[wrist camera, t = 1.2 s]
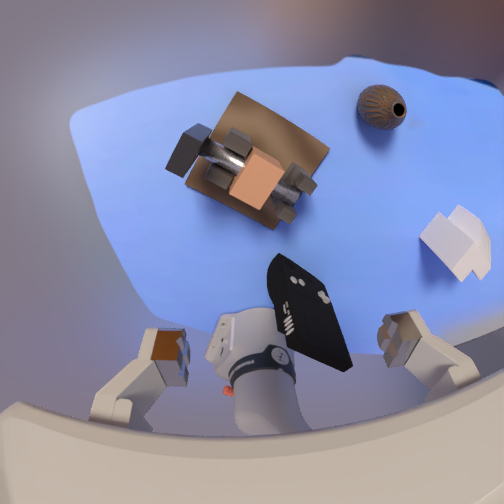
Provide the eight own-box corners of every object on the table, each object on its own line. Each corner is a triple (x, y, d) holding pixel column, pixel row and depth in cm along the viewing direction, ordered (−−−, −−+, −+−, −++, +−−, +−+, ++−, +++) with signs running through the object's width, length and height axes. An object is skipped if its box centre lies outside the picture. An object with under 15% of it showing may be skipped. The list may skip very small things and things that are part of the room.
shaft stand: (272, 227, 47) (279, 258, 39) (185, 182, 42) (172, 204, 34) (328, 147, 40) (350, 161, 32) (237, 91, 35) (236, 88, 27)
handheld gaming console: (325, 281, 53) (356, 364, 36) (309, 296, 55) (333, 380, 38) (279, 249, 49) (299, 335, 32) (262, 266, 51) (273, 355, 34)
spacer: (256, 194, 37) (259, 210, 33) (230, 180, 36) (229, 194, 31) (278, 160, 35) (284, 171, 30) (251, 145, 34) (253, 153, 29)
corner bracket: (418, 236, 49) (450, 270, 38) (451, 194, 44) (489, 221, 34) (440, 260, 52) (469, 292, 42) (470, 222, 47) (503, 250, 37)
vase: (346, 88, 35) (370, 88, 28) (384, 82, 34) (413, 82, 27) (357, 130, 39) (383, 139, 31) (394, 122, 38) (423, 130, 30)
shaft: (284, 203, 38) (297, 238, 30) (184, 149, 34) (164, 169, 25) (300, 180, 37) (319, 208, 28) (198, 123, 32) (183, 132, 24)
